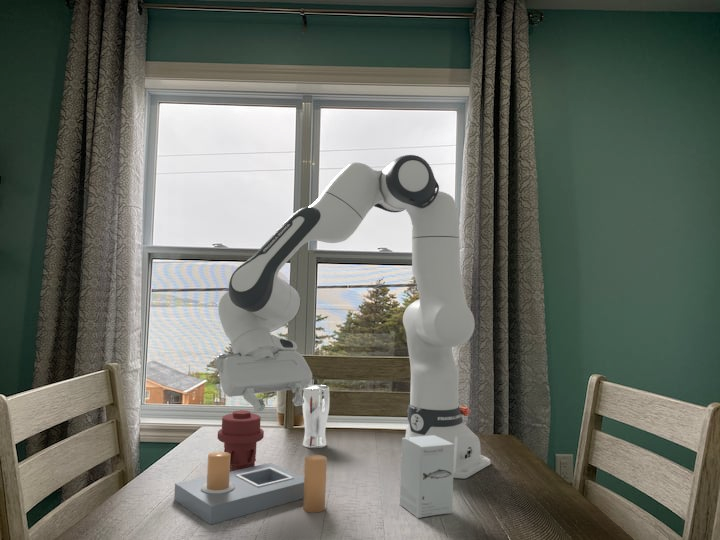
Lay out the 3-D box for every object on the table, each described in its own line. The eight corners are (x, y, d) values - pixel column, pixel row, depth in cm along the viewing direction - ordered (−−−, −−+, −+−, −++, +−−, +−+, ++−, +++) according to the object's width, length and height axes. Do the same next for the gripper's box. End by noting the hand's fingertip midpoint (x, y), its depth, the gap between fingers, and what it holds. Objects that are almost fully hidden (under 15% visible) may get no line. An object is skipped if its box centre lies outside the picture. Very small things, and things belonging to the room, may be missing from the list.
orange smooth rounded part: (315, 502, 103) (317, 453, 103) (329, 508, 100) (331, 458, 100) (298, 507, 100) (300, 457, 101) (312, 514, 97) (314, 462, 98)
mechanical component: (268, 463, 125) (251, 477, 115) (228, 459, 127) (207, 473, 117) (271, 409, 126) (254, 418, 116) (230, 406, 128) (210, 414, 118)
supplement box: (418, 519, 97) (420, 446, 97) (398, 504, 103) (400, 436, 104) (453, 514, 99) (455, 443, 100) (432, 499, 106) (434, 433, 107)
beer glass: (326, 449, 138) (329, 389, 139) (299, 448, 138) (301, 388, 139) (328, 442, 145) (330, 385, 146) (302, 441, 145) (304, 384, 146)
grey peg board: (269, 477, 116) (271, 434, 116) (310, 496, 106) (312, 449, 106) (174, 499, 102) (176, 450, 102) (210, 524, 92) (212, 469, 92)
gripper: (217, 345, 108) (241, 403, 101) (301, 341, 122) (327, 392, 115) (206, 365, 112) (228, 423, 104) (288, 359, 125) (313, 410, 118)
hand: (281, 406), depth 109 cm, fingers open, 8 cm apart
